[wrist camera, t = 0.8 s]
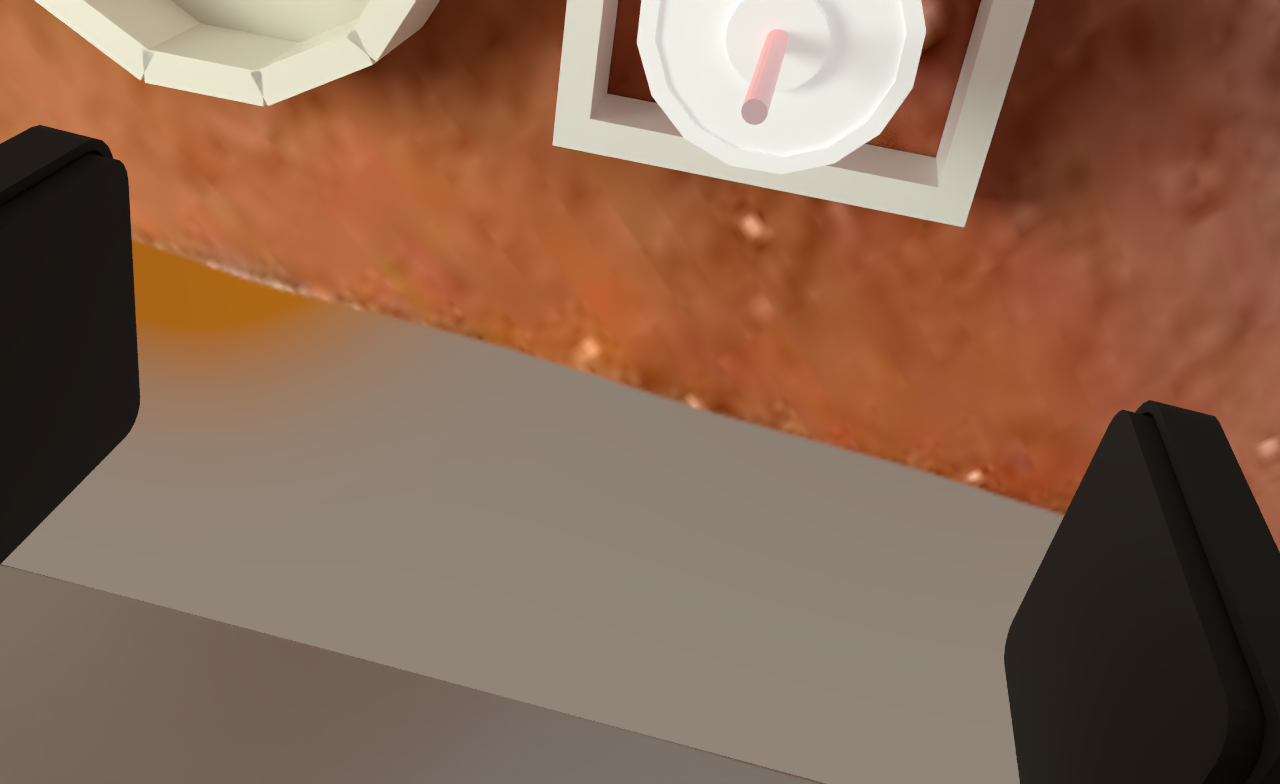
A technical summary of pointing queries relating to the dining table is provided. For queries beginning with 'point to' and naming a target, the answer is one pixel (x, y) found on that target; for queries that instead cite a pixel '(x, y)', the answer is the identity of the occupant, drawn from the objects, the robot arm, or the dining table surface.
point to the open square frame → (854, 179)
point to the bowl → (243, 40)
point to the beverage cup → (780, 74)
